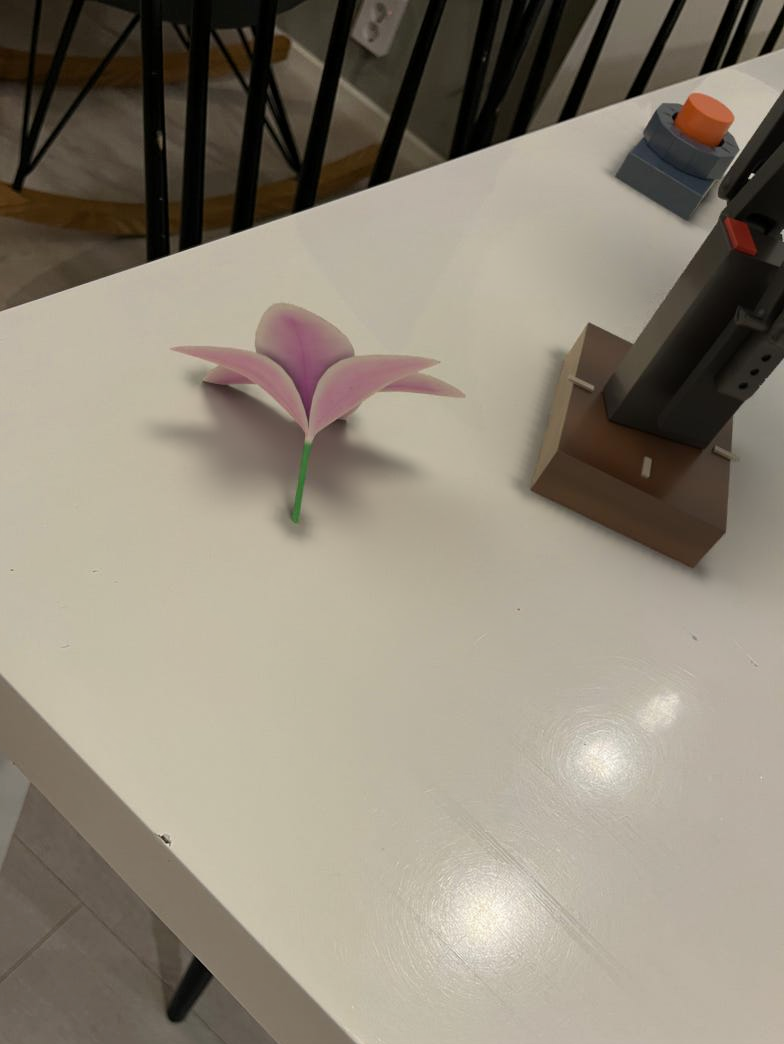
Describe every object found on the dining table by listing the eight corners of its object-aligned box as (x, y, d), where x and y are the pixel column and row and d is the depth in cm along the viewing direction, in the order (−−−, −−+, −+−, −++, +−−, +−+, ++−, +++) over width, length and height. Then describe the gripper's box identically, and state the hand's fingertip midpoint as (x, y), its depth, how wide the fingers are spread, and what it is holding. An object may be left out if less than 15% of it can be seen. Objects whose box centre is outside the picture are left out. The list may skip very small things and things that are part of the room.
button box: (687, 226, 77) (721, 175, 74) (609, 178, 77) (640, 125, 74) (720, 180, 83) (752, 132, 80) (647, 136, 84) (677, 87, 81)
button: (710, 155, 76) (728, 127, 75) (667, 128, 77) (683, 101, 75) (722, 139, 79) (739, 113, 77) (679, 114, 79) (696, 87, 77)
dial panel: (696, 575, 54) (735, 533, 52) (521, 490, 54) (552, 445, 51) (708, 435, 62) (742, 393, 59) (556, 361, 61) (584, 316, 59)
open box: (696, 417, 57) (828, 251, 49) (704, 450, 55) (843, 283, 47) (602, 388, 56) (722, 213, 48) (608, 420, 54) (733, 245, 46)
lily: (447, 512, 52) (489, 307, 49) (398, 587, 42) (447, 333, 38) (214, 461, 55) (237, 262, 51) (113, 519, 44) (132, 274, 40)
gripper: (1289, 30, 32) (777, 544, 49) (1055, -172, 43) (706, 307, 60) (1084, -66, 30) (630, 502, 48) (896, -249, 41) (585, 266, 59)
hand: (673, 392), depth 54 cm, fingers open, 5 cm apart
